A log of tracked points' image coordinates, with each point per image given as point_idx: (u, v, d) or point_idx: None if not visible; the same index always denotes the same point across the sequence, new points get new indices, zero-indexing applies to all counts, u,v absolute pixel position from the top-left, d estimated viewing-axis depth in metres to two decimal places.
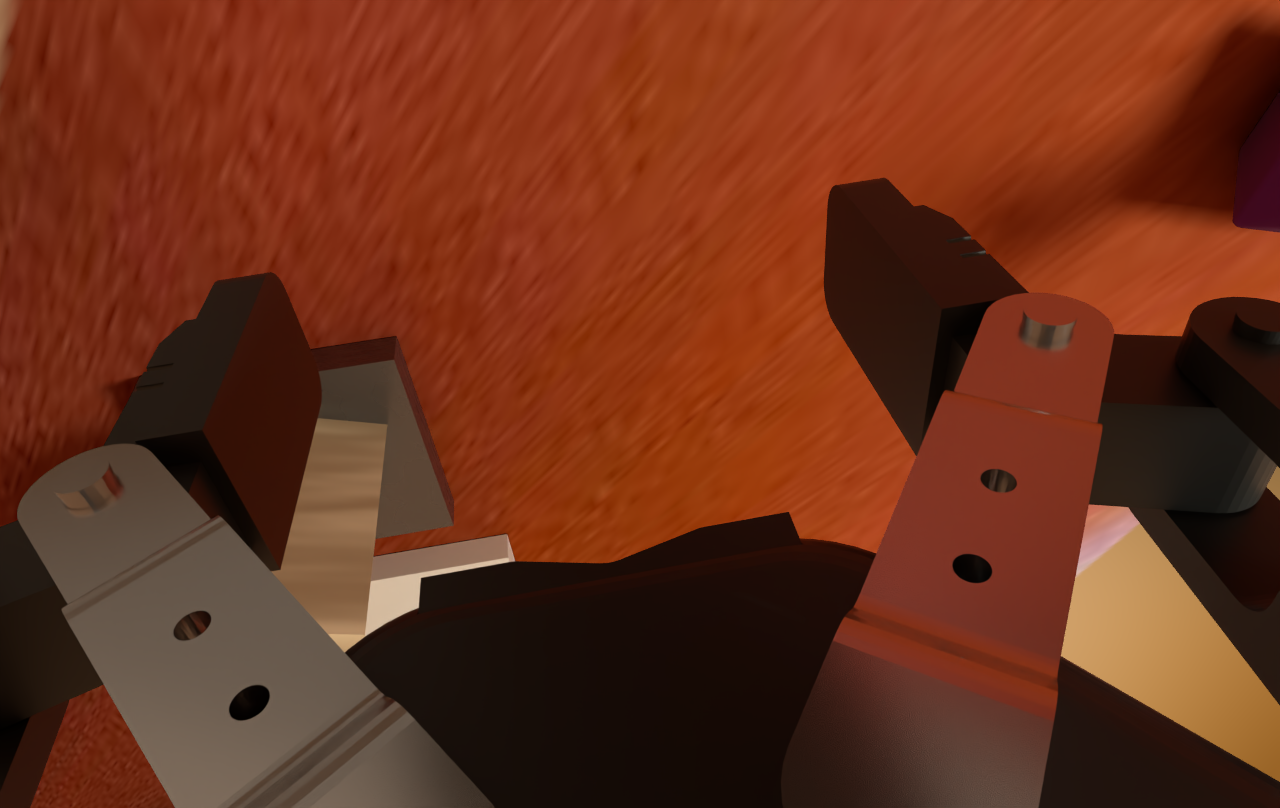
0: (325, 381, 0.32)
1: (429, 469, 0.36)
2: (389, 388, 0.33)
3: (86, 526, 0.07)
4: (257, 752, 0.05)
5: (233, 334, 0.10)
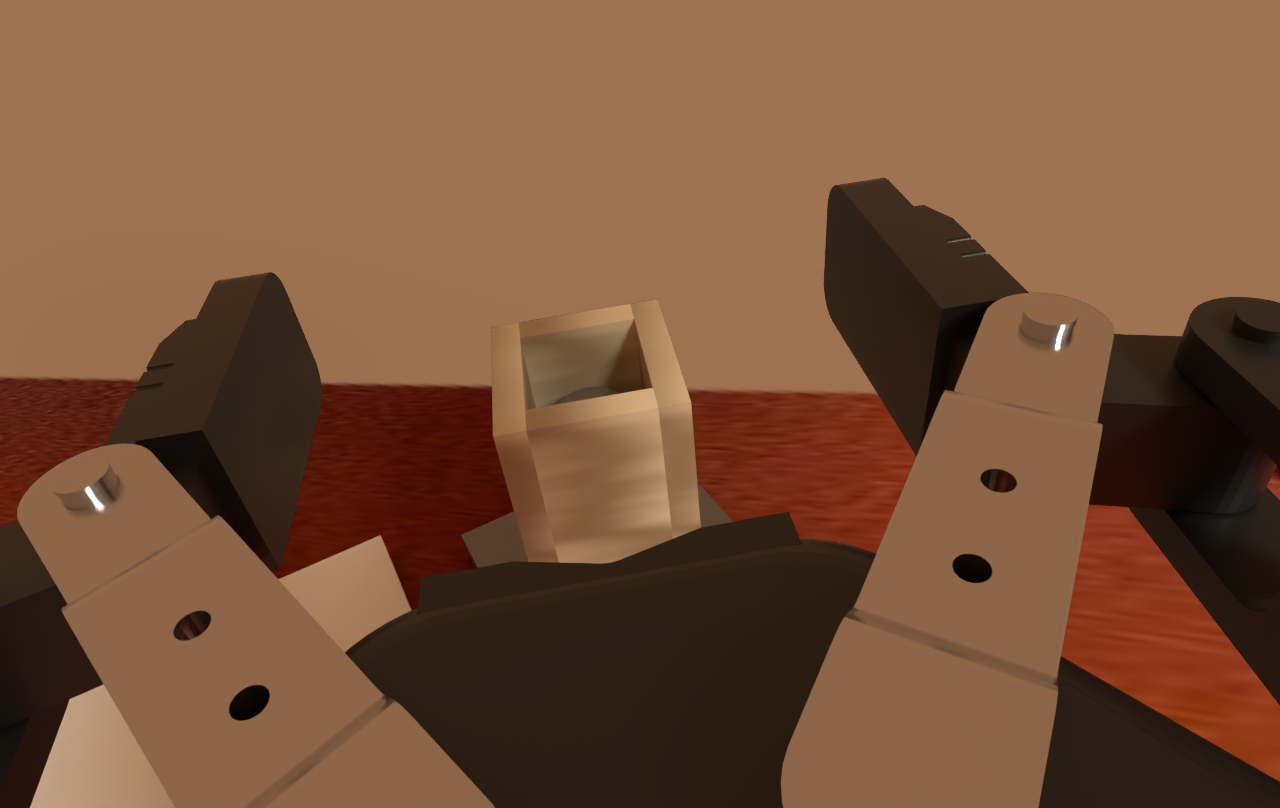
0: None
1: None
2: None
3: (86, 526, 0.07)
4: (257, 752, 0.05)
5: (233, 334, 0.10)
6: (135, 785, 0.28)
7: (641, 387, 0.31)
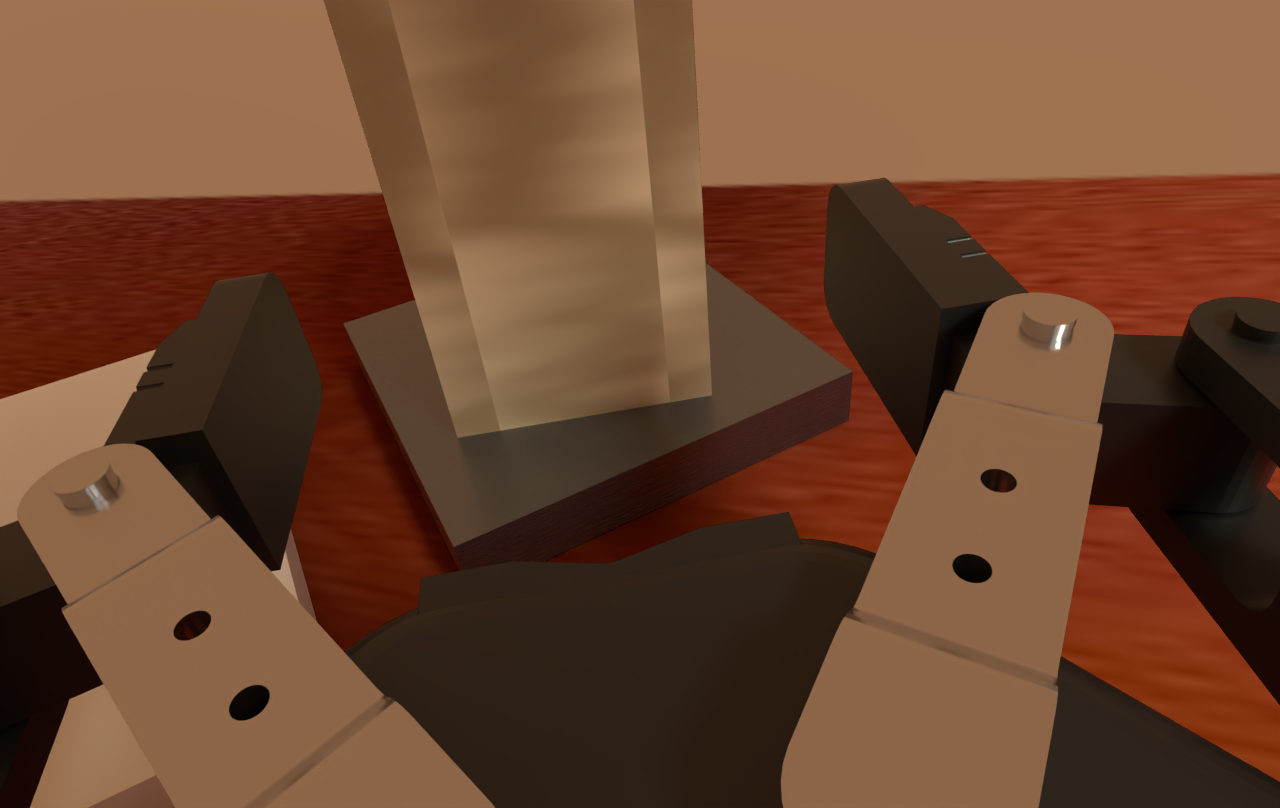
0: (765, 326, 0.22)
1: (621, 467, 0.18)
2: (791, 380, 0.20)
3: (87, 526, 0.07)
4: (257, 752, 0.05)
5: (233, 334, 0.10)
6: None
7: None
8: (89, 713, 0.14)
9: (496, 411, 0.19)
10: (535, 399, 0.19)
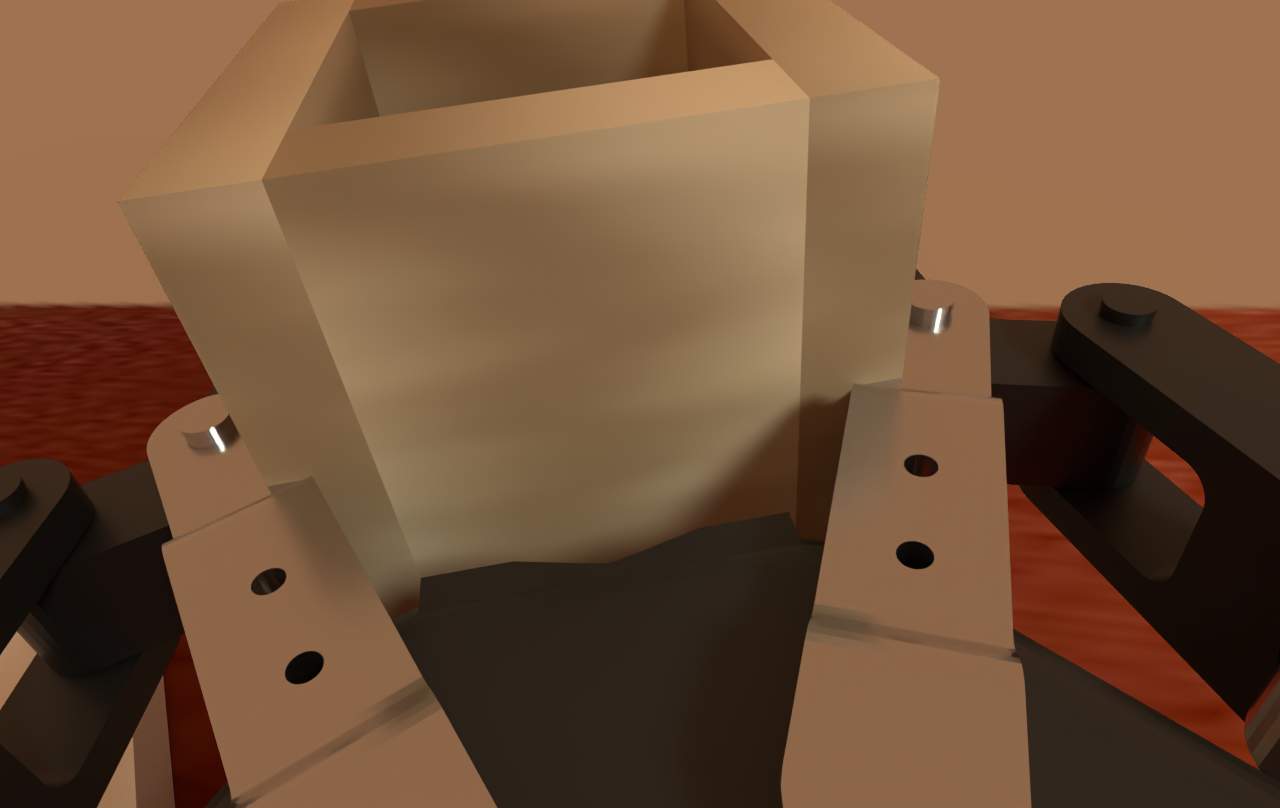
0: None
1: None
2: None
3: (216, 463, 0.08)
4: (302, 718, 0.05)
5: None
6: None
7: None
8: None
9: None
10: None
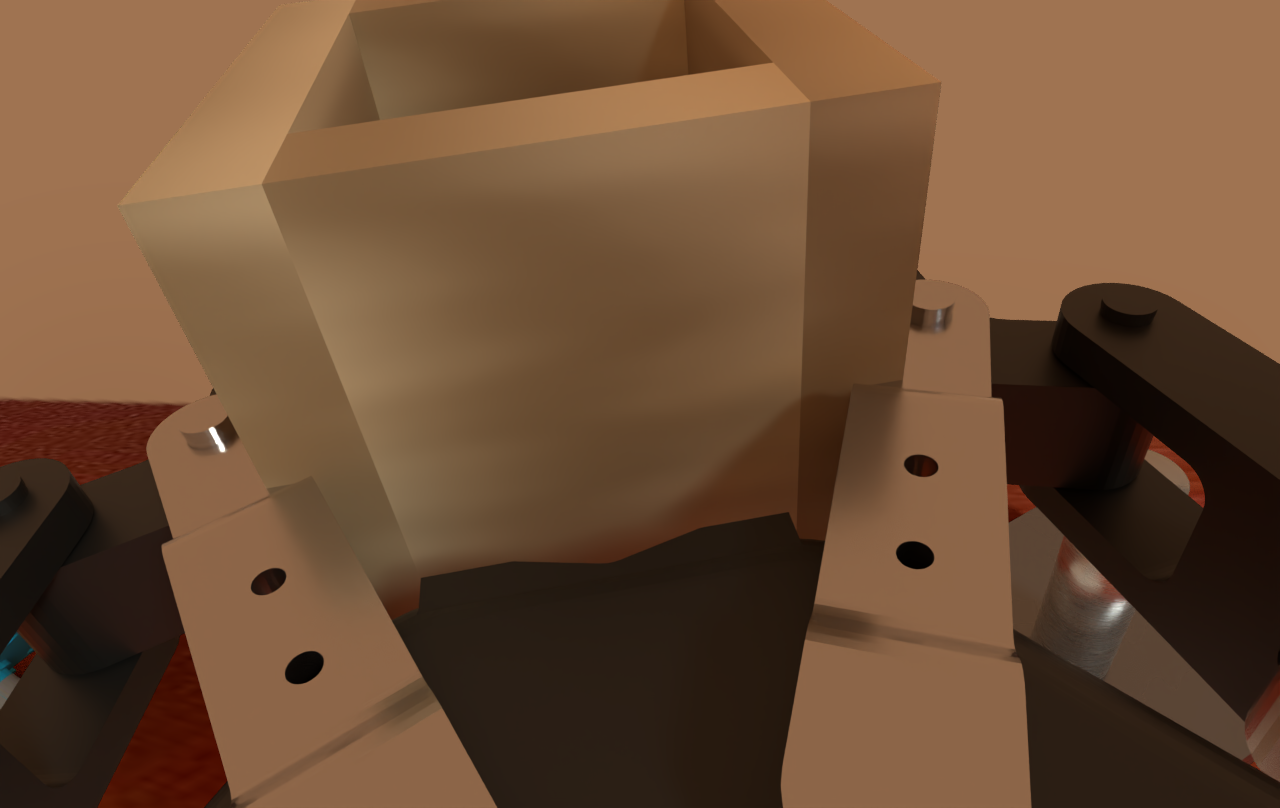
0: None
1: None
2: None
3: (215, 463, 0.08)
4: (303, 719, 0.05)
5: None
6: None
7: None
8: None
9: None
10: None
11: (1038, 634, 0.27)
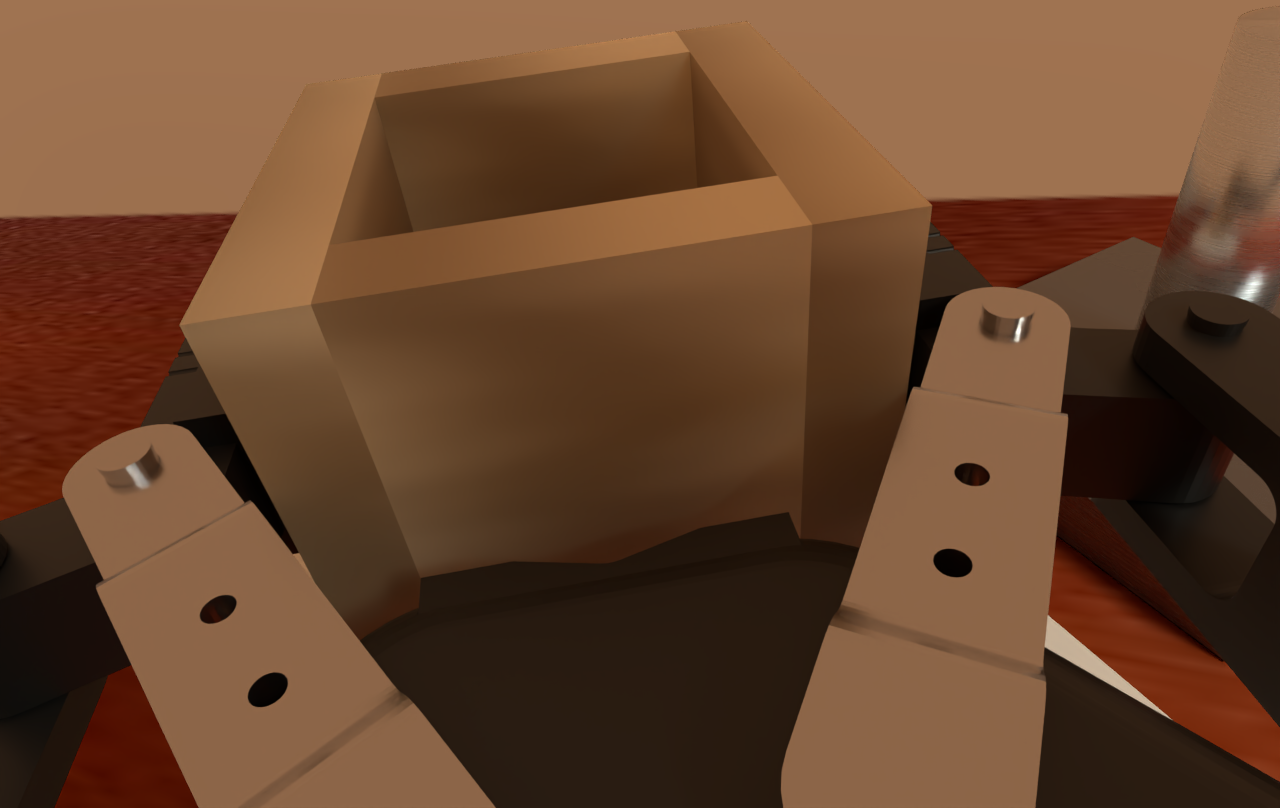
0: None
1: None
2: None
3: (131, 502, 0.08)
4: (274, 740, 0.05)
5: None
6: None
7: None
8: None
9: None
10: None
11: None
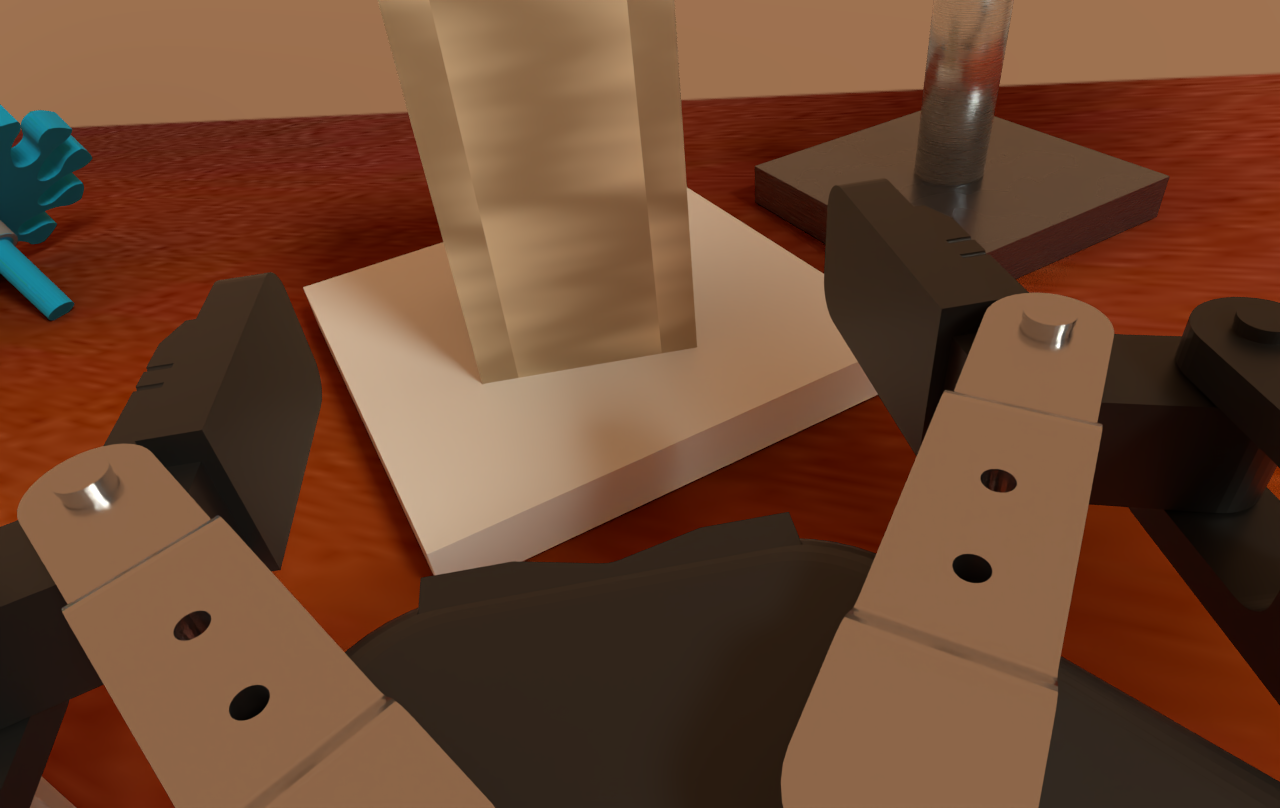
0: (1087, 155, 0.30)
1: (1035, 228, 0.26)
2: (1127, 182, 0.28)
3: (86, 526, 0.07)
4: (259, 750, 0.05)
5: (233, 334, 0.10)
6: None
7: None
8: (768, 348, 0.23)
9: (515, 361, 0.22)
10: (548, 350, 0.22)
11: (918, 146, 0.30)
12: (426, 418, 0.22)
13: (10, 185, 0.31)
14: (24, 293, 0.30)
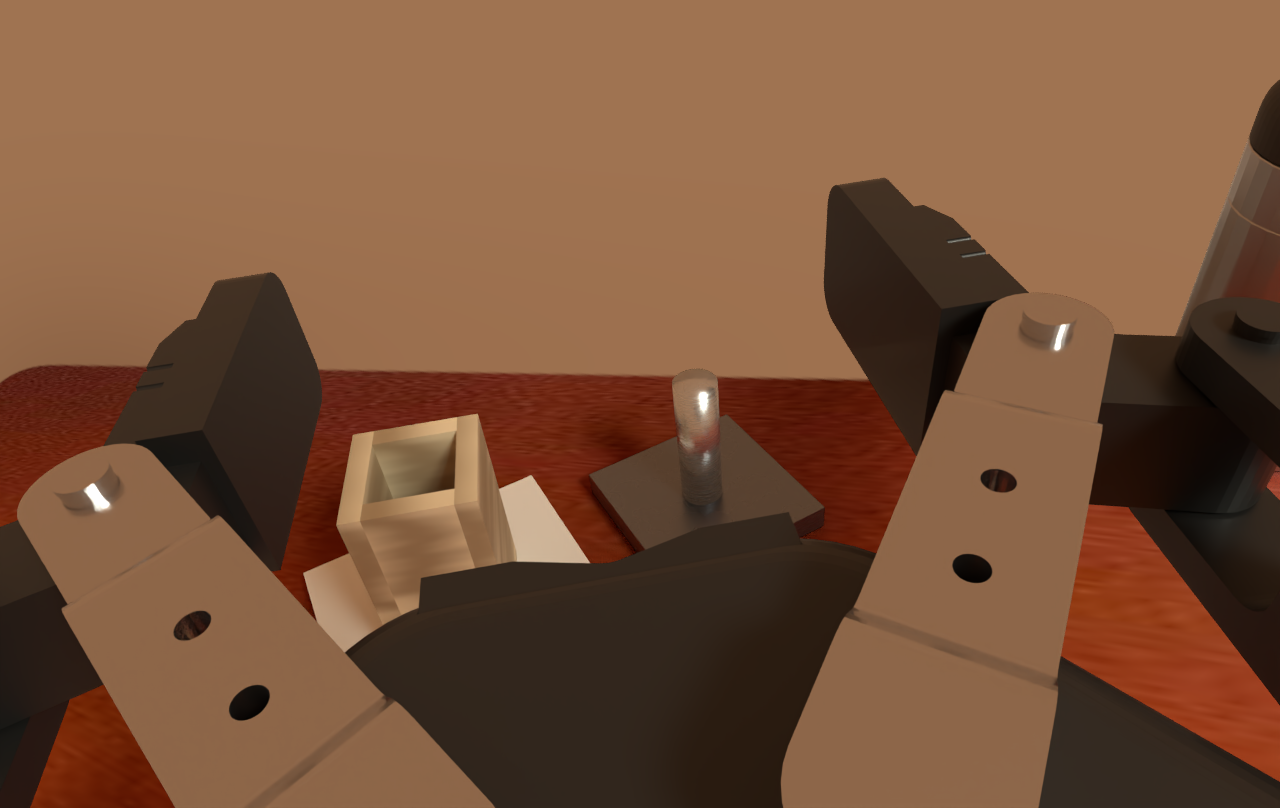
0: (787, 482, 0.49)
1: None
2: (799, 511, 0.47)
3: (87, 526, 0.07)
4: (257, 752, 0.05)
5: (233, 334, 0.10)
6: None
7: None
8: None
9: None
10: None
11: (680, 479, 0.48)
12: None
13: None
14: None
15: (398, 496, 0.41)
